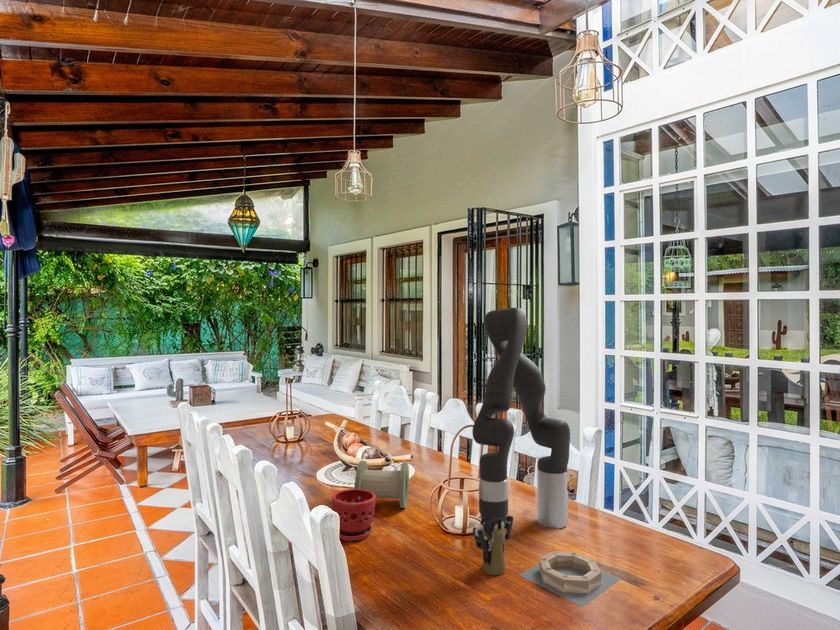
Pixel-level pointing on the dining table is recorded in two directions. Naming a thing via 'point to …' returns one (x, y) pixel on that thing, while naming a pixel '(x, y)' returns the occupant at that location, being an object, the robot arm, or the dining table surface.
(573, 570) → the slate mat
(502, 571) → the olive pawn peg
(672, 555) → the dining table surface
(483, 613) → the dining table surface
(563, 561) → the wooden ring
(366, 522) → the plant pot
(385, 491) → the spool
